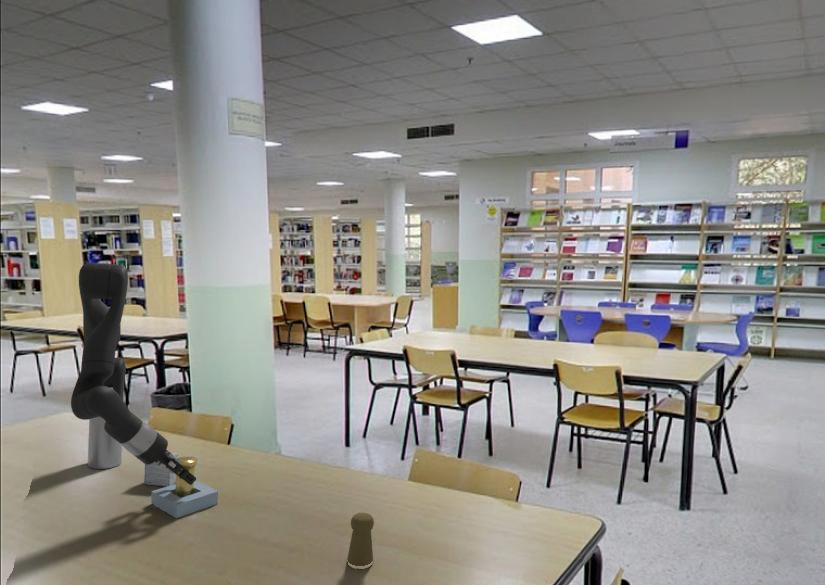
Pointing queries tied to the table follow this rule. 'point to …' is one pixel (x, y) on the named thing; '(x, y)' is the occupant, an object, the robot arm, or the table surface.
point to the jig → (184, 499)
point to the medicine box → (159, 475)
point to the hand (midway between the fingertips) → (186, 476)
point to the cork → (361, 540)
